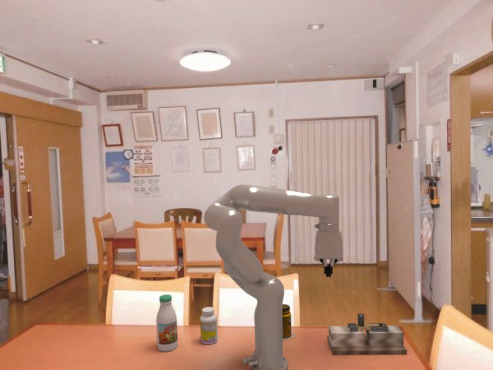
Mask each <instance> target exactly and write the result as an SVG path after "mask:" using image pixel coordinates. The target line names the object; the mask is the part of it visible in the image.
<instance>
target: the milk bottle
mask: <svg viewBox="0 0 493 370" xmlns="http://www.w3.org/2000/svg"><path fill="white" fill-rule="evenodd" d="M172 299H173V297H172V295H171V294H166V293H165V294H162V295H160V296H159V309H158V311H157V313H156V314H157V315H156V318H155V319H156V320H155V322H156V324H155V325H156V344H157V349H158V351H160V352H171V351H173V350H175V349H177V348H178V345H179V340H178V339H179V338H178V321H177V314H176V311H175V309H174V308H173V307H174V306H173V304H172V301H173V300H172Z"/></svg>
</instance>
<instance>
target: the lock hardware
mask: <svg viewBox="0 0 493 370" xmlns="http://www.w3.org/2000/svg"><path fill="white" fill-rule="evenodd" d="M356 324H357V323H356V322H355V323H354V322H349V323H347V326H348V328H350V332H358V327H356ZM368 324H378V325H379V326H380V327H372V332H386V331H387V332H388V326H389V325H387V323H386V322H369V323H368Z"/></svg>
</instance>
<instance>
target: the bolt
mask: <svg viewBox="0 0 493 370" xmlns="http://www.w3.org/2000/svg"><path fill="white" fill-rule="evenodd" d="M356 327H358V330H363V331H366V330H372V327H380V326H379V325H378V324H369V323H365V314H364V313H362V312H361V313H360V312H359V313H357V323H356Z"/></svg>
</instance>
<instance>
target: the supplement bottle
mask: <svg viewBox="0 0 493 370" xmlns="http://www.w3.org/2000/svg"><path fill="white" fill-rule="evenodd" d="M201 312H202V313H201V316H200V318H199V325H200V342H201V343H202V344H204V345H213V344H216V343H217V342H218V339H219V335H218V334H219V333H218V317H217V315H216V313H215V308H214V307H212V306H207V307H203V308H202V310H201Z"/></svg>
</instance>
